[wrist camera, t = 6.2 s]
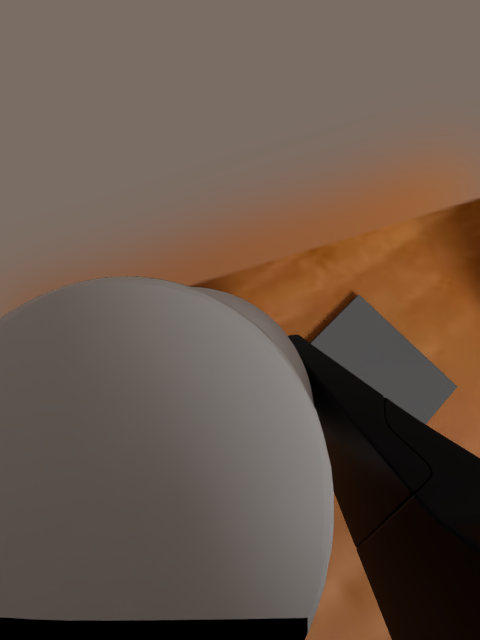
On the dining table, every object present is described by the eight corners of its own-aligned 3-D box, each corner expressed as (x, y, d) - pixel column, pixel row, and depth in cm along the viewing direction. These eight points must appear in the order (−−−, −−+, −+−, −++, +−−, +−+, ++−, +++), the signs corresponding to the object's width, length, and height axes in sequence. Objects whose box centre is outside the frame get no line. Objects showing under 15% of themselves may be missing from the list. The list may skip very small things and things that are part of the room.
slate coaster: (368, 484, 17) (372, 488, 17) (271, 381, 19) (272, 382, 18) (451, 385, 19) (457, 386, 18) (355, 296, 20) (358, 294, 20)
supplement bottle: (158, 345, 15) (-242, 278, 2) (249, 317, 16) (299, 136, 3) (183, 444, 14) (-303, 1221, 1) (280, 411, 14) (578, 780, 2)
